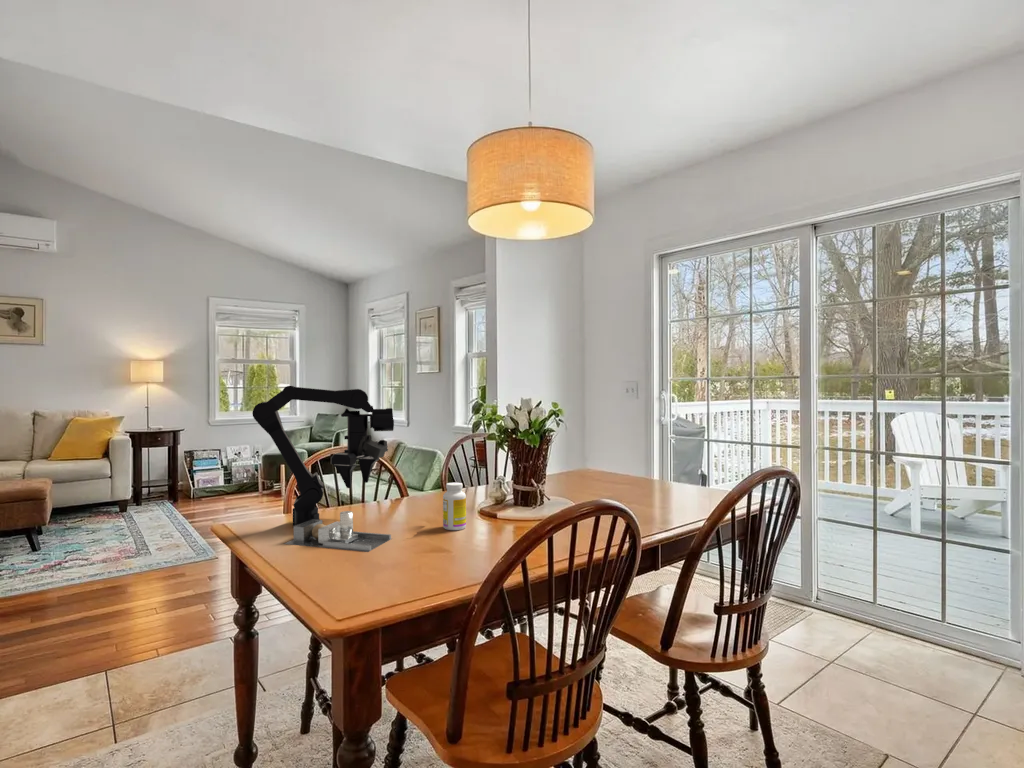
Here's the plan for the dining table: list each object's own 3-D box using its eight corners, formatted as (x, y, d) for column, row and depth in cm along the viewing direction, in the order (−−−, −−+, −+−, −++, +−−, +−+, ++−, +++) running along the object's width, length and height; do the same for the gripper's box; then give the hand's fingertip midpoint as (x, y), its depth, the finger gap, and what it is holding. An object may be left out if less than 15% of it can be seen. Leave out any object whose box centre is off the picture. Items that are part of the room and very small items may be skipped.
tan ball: (310, 542, 147) (307, 527, 148) (319, 538, 151) (316, 523, 151) (323, 540, 146) (320, 524, 147) (332, 536, 150) (329, 521, 150)
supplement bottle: (469, 526, 169) (469, 482, 168) (460, 531, 162) (460, 486, 162) (449, 524, 171) (449, 481, 171) (439, 529, 164) (439, 484, 164)
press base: (283, 549, 145) (283, 527, 145) (312, 537, 156) (312, 517, 156) (368, 558, 138) (368, 535, 138) (392, 544, 150) (392, 523, 150)
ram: (318, 543, 144) (318, 514, 144) (336, 534, 152) (336, 507, 152) (343, 545, 142) (343, 516, 142) (360, 537, 150) (360, 509, 150)
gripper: (365, 435, 157) (365, 492, 157) (397, 430, 175) (397, 481, 175) (329, 434, 160) (329, 490, 160) (365, 429, 178) (365, 479, 178)
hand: (357, 485), depth 168 cm, fingers open, 9 cm apart
